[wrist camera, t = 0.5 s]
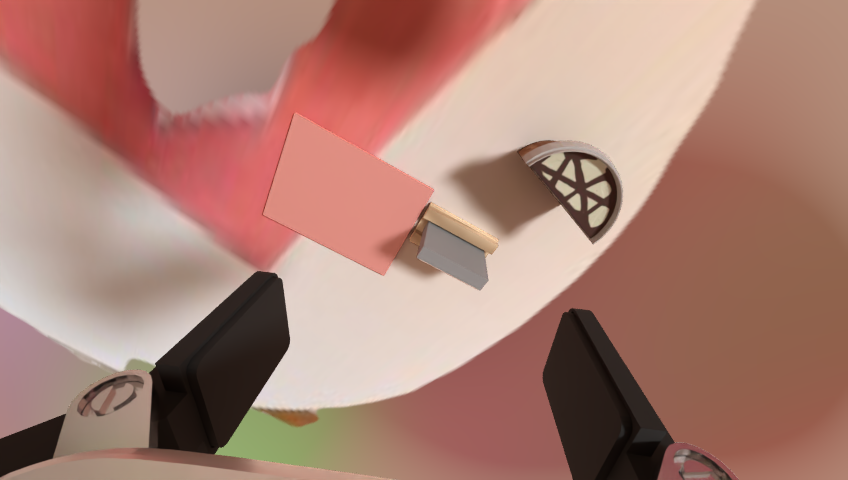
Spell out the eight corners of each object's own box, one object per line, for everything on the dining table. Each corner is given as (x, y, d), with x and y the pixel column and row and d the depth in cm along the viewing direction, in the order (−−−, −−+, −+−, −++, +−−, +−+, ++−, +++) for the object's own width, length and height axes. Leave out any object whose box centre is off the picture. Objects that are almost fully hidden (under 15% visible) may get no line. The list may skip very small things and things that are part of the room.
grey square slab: (429, 219, 44) (423, 246, 37) (483, 248, 45) (488, 280, 38) (422, 230, 45) (415, 258, 38) (476, 259, 46) (479, 291, 39)
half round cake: (610, 182, 40) (653, 211, 31) (567, 212, 42) (595, 248, 33) (553, 105, 37) (583, 114, 28) (510, 143, 39) (524, 162, 30)
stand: (431, 202, 43) (430, 206, 42) (498, 239, 45) (499, 244, 44) (409, 237, 46) (408, 242, 45) (473, 271, 48) (474, 277, 46)
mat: (296, 112, 40) (294, 112, 39) (434, 189, 43) (434, 190, 42) (264, 213, 47) (262, 214, 46) (384, 273, 50) (383, 275, 49)
